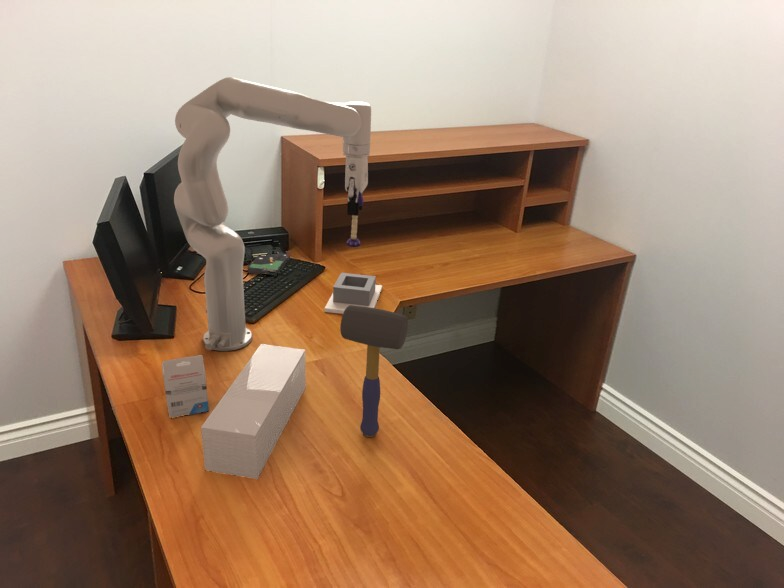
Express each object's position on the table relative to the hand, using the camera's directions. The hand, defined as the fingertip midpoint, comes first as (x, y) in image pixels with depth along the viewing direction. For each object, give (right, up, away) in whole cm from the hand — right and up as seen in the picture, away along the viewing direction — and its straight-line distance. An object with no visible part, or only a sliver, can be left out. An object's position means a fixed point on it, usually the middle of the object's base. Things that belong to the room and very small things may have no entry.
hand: (354, 211), depth 179 cm
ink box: (-35, -50, -41) cm, 73 cm away
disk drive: (-31, -15, +33) cm, 48 cm away
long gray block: (-18, -53, -44) cm, 71 cm away
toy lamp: (0, -9, +5) cm, 11 cm away
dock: (-1, -26, +13) cm, 29 cm away
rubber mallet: (+6, -54, -45) cm, 71 cm away
